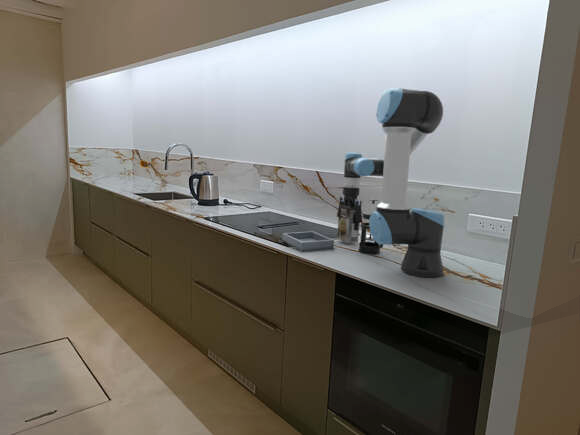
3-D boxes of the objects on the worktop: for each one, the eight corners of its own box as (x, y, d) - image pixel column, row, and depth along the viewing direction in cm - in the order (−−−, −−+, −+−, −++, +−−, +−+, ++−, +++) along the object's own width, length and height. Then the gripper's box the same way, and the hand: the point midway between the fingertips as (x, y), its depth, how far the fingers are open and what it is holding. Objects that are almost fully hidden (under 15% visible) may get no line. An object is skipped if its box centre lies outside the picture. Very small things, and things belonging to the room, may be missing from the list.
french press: (352, 250, 179) (356, 198, 174) (366, 247, 185) (370, 197, 181) (374, 256, 170) (379, 201, 166) (387, 253, 176) (392, 200, 172)
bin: (333, 248, 179) (334, 240, 178) (301, 251, 172) (302, 242, 171) (312, 239, 195) (312, 231, 194) (282, 241, 187) (282, 233, 186)
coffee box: (336, 238, 194) (338, 205, 191) (347, 238, 197) (350, 204, 194) (346, 243, 186) (349, 208, 183) (358, 242, 189) (361, 207, 186)
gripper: (373, 189, 180) (369, 239, 183) (344, 184, 198) (341, 229, 202) (359, 189, 176) (355, 240, 180) (331, 184, 195) (328, 230, 199)
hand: (347, 234), depth 191 cm, fingers closed on coffee box, 9 cm apart
